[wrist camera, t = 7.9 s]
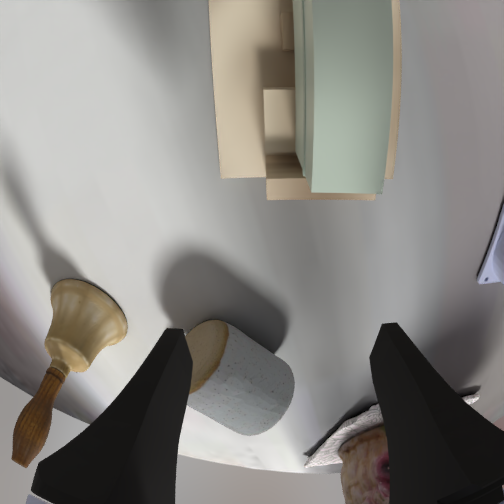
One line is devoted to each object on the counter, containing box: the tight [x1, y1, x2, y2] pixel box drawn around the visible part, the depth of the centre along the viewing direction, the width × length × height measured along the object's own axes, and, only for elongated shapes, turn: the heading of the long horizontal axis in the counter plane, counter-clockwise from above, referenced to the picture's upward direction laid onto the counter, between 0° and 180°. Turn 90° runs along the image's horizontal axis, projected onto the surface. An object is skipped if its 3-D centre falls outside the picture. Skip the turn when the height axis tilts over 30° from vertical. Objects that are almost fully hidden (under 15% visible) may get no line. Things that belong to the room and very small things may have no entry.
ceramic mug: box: [185, 320, 295, 436], centre depth 23 cm, size 11×8×8 cm
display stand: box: [209, 0, 402, 200], centre depth 11 cm, size 10×16×4 cm, turn 3°
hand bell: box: [12, 279, 128, 468], centre depth 18 cm, size 8×8×16 cm
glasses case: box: [293, 0, 393, 194], centre depth 8 cm, size 2×12×5 cm, turn 2°
